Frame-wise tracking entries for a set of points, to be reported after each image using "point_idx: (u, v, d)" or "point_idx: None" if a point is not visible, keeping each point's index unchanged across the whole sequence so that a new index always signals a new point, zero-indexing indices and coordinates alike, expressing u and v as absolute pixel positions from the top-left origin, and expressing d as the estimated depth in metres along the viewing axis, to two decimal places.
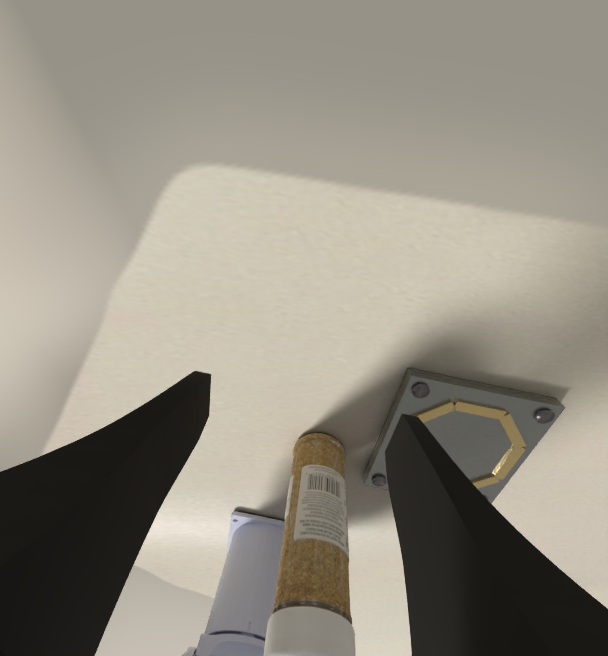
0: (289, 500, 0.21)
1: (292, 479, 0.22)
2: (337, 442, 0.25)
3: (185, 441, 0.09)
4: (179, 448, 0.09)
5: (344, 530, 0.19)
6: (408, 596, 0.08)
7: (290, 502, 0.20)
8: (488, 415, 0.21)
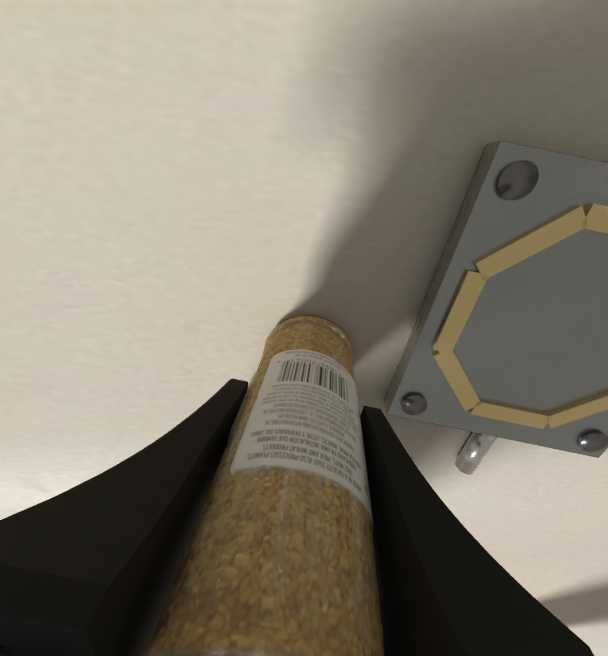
0: (239, 409, 0.10)
1: (252, 379, 0.11)
2: (341, 331, 0.14)
3: None
4: None
5: (359, 459, 0.08)
6: None
7: (241, 411, 0.09)
8: None
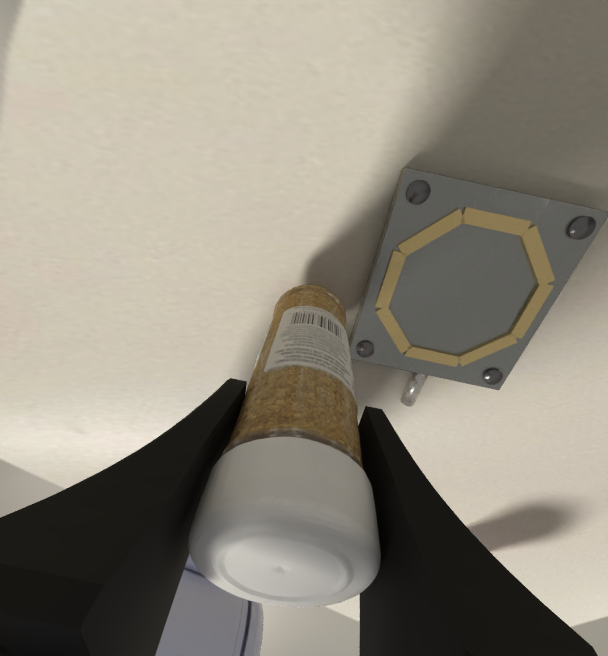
0: (262, 345, 0.13)
1: (268, 328, 0.15)
2: (335, 297, 0.17)
3: None
4: (220, 456, 0.09)
5: (348, 370, 0.11)
6: None
7: (263, 346, 0.13)
8: (507, 230, 0.16)
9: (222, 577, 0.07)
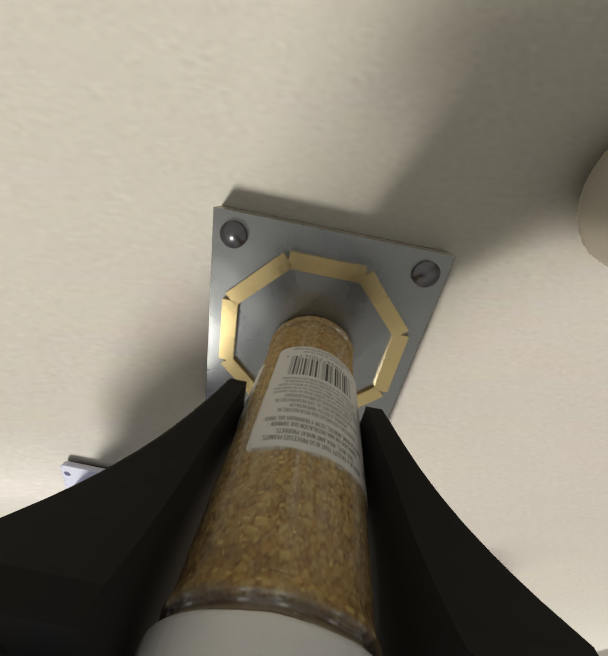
0: (250, 396, 0.10)
1: (261, 370, 0.12)
2: (344, 333, 0.14)
3: (225, 449, 0.09)
4: (220, 457, 0.09)
5: (358, 449, 0.09)
6: None
7: (251, 398, 0.10)
8: (343, 276, 0.14)
9: None
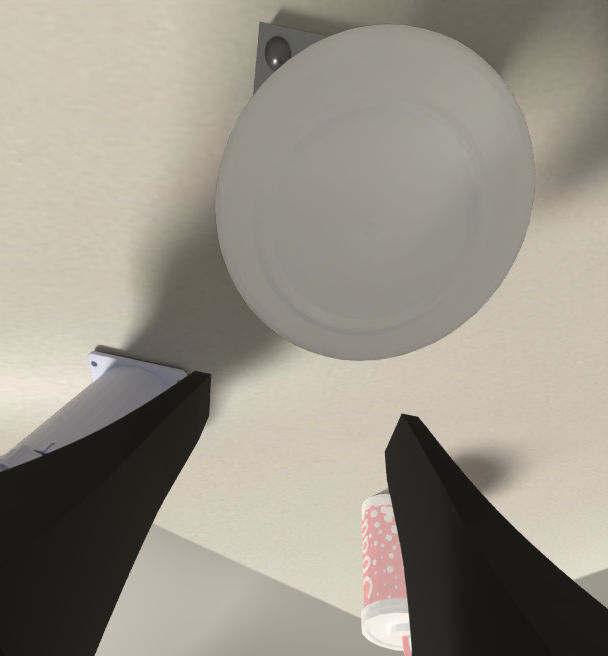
0: None
1: None
2: None
3: (185, 441, 0.09)
4: (179, 448, 0.09)
5: None
6: (408, 596, 0.08)
7: None
8: None
9: (263, 262, 0.04)
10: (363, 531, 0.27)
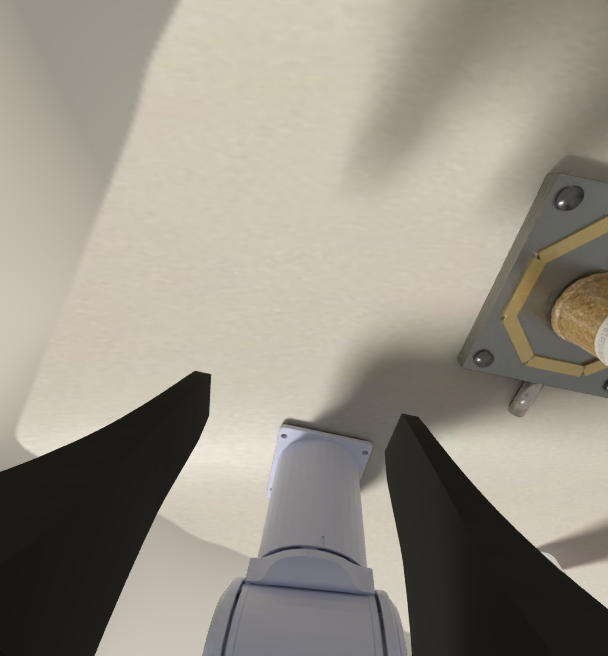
0: None
1: None
2: None
3: (185, 441, 0.09)
4: (179, 448, 0.09)
5: None
6: (408, 596, 0.08)
7: None
8: None
9: None
10: None
